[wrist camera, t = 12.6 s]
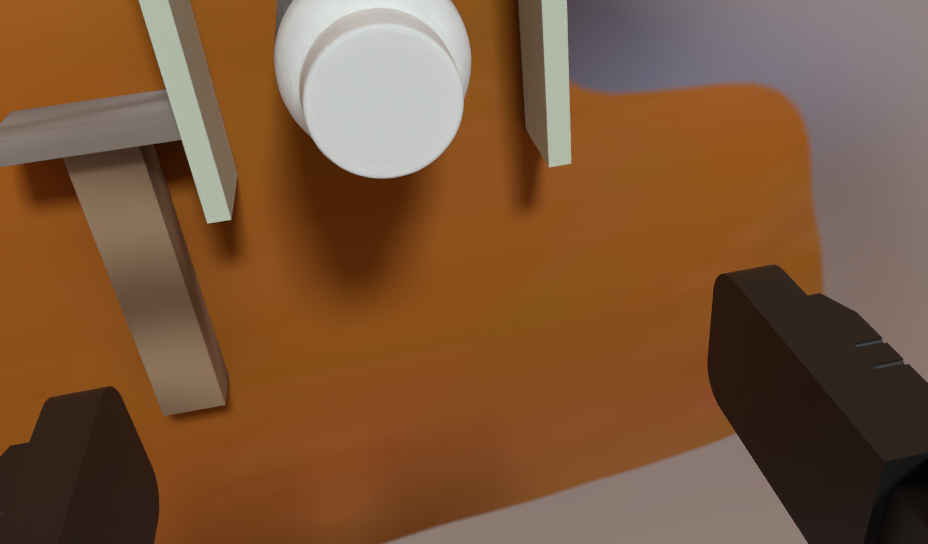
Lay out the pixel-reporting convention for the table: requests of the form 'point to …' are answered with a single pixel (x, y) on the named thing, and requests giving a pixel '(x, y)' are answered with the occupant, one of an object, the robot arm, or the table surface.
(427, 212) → the table surface
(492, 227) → the table surface
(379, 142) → the pill bottle
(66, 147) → the bar
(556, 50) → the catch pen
